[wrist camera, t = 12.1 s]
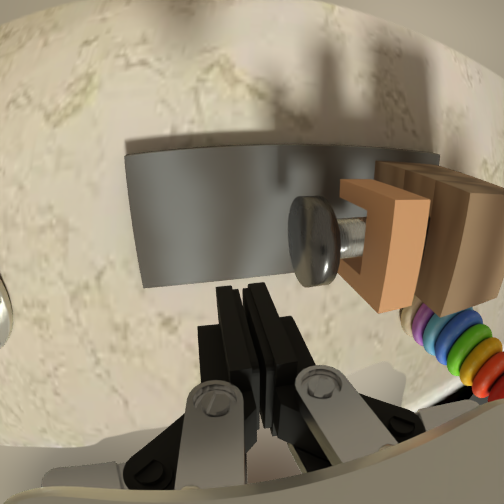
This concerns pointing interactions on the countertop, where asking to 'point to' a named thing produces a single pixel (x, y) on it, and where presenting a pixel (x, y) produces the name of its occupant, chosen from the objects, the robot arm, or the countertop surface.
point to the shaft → (322, 239)
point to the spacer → (386, 243)
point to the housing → (278, 206)
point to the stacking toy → (459, 346)
